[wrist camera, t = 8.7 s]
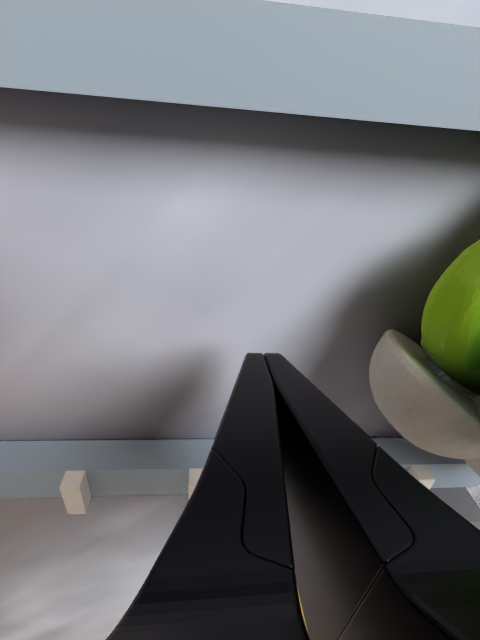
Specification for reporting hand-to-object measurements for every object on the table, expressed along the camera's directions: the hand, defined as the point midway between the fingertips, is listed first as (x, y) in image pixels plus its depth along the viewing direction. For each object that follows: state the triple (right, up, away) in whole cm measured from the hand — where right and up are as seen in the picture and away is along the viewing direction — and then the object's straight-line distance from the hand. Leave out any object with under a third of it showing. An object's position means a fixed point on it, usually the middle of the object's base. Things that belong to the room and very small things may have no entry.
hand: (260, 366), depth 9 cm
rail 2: (-1, -4, +5) cm, 6 cm away
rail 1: (0, +6, -2) cm, 7 cm away
